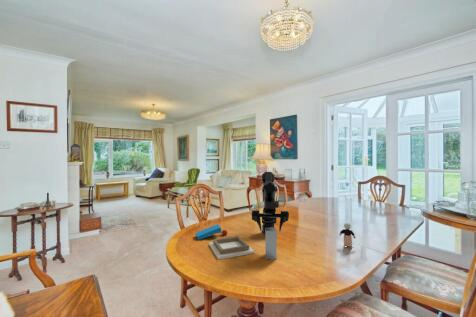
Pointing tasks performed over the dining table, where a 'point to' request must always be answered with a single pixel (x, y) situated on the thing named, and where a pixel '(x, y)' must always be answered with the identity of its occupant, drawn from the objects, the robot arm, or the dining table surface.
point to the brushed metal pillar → (270, 243)
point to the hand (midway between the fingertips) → (270, 231)
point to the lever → (210, 232)
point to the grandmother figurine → (347, 235)
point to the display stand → (230, 247)
